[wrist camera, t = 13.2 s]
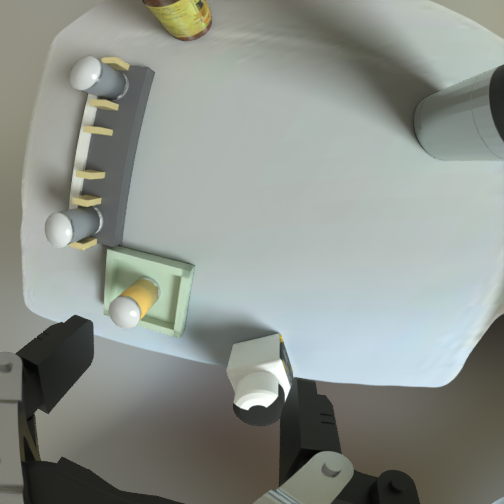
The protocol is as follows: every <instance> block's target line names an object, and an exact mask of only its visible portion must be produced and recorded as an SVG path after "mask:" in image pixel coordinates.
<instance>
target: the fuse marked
mask: <svg viewBox="0 0 504 504" xmlns="http://www.w3.org/2000/svg"><path fill="white" fill-rule="evenodd" d="M160 295H161V290H160V287H159V285H158V283H157V282H156V281H155V280H154V279H152V278H150V277H141V278H139V279H138V280H137V281H136V282H134V283H133V284H132V285H131V286H130V287H128V288H127V289H126V290H125V291H123V292H122V293H121V294H120V295H119V296H118V297H116V298H115V299H114V300H113V301H112V302H111V303H110V305H109V315H110V317H111V319H112V321H113V322H114V323H115V324H116V325H117V326H119V327H121V328H123V329H131V328H133V327H135V326H136V325H137V323H138V322H139V321H140V320H141V319H142V318H143V317H144V315H145V314H146V313H147V312H148V311H149V310H150V309H151V307H152V306H153V305H154V304H155V303H156V302H157V301H158V299H159V298H160Z"/></svg>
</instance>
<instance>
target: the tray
mask: <svg viewBox="0 0 504 504" xmlns="http://www.w3.org/2000/svg"><path fill="white" fill-rule="evenodd" d="M194 269H195V265H191V264H187V263H183V262H179V261H175V260H171V259H167V258H163V257H159V256H155V255H152V254H148V253H144V252H140V251H136V250H132V249H129V248H125V247H121V246H116V247H111V248H109V249H107V259H106V273H105V291H104V315H107V316H110V315H109V305H110V303H111V302H112V301H113V300H114V299H115V298H116V297H118V296H119V295H120V294H121V293H122V292H123V291H125V290H126V289H127V288H128V287H130V286H131V285H132V284H133V283H134V282H136V281H137V280H138V279H139V278H141V277H150V278H152V279H154V280H155V281H156V282H157V283H158V285H159V287H160V290H161V295H160V298H159V299H158V301H157V302H156V303H155V304H154V305H153V306H152V307H151V309H150V310H149V311H148V312H147V313H146V314H145V315H144V317H143V318H142V319H141V320H140V321H139V322H138V323H137V325H138V326H141V327H144V328H147V329H150V330H154V331H157V332H160V333H164V334H167V335H170V336H174V337H177V338H180V337H181V335H182V334H183V332H184V330H185V324H186V317H187V311H188V305H189V298H190V292H191V286H192V280H193V275H194Z"/></svg>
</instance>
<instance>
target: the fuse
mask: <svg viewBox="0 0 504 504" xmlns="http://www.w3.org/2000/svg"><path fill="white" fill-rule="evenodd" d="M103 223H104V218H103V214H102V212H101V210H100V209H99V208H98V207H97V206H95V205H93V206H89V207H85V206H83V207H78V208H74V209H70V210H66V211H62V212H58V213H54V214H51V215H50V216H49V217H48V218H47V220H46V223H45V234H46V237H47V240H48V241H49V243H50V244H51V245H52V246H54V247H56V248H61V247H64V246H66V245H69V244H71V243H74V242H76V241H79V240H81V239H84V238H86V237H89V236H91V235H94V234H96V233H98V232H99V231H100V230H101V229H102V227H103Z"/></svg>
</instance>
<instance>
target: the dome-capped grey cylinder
mask: <svg viewBox="0 0 504 504" xmlns="http://www.w3.org/2000/svg"><path fill="white" fill-rule="evenodd" d="M69 80H70V84H71V86H72V87H73V88H75V89H77V90H80V91H83V92H86V93H89V94H92V95H95V96H98V97H100V98H103V99H106V100H109V101H117V100H119V99H121V98H122V97H123V96H124V95H125V94H126V93H127V91H128V88H129V79H128V77H127V76H126V75H125V74H123V73H121V72H119V71H118V70H116V69H114V68H112V67H110V66H109V65H107V64H105V63H103V62H101V61H100V60H98V59H96V58H94V57H91V56H86V57H83V58H81V59H80V60H79V61H77V62H76V63H75V65H74V66H73V68H72V70H71V72H70V77H69Z"/></svg>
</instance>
